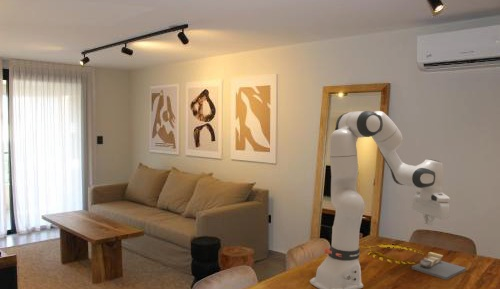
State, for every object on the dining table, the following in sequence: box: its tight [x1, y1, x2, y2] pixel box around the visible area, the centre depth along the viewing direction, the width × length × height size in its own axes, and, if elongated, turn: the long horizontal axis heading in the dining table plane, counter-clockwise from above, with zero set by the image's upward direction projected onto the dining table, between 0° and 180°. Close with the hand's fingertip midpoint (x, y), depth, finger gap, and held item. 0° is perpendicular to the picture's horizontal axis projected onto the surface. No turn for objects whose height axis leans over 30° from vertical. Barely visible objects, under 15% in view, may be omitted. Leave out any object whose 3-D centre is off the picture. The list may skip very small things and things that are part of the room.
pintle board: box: [410, 251, 467, 281], centre depth 180 cm, size 20×16×5 cm
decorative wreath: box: [361, 242, 426, 265], centre depth 204 cm, size 35×2×30 cm
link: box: [419, 256, 442, 268], centre depth 183 cm, size 15×5×2 cm, turn 132°
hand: (428, 224), depth 179 cm, fingers closed
